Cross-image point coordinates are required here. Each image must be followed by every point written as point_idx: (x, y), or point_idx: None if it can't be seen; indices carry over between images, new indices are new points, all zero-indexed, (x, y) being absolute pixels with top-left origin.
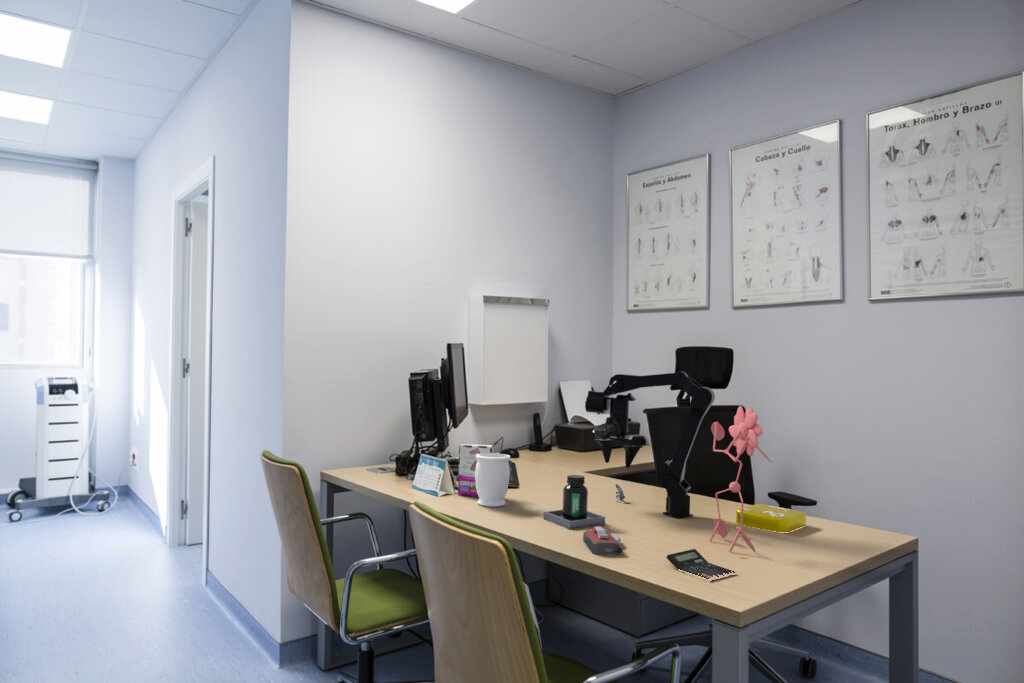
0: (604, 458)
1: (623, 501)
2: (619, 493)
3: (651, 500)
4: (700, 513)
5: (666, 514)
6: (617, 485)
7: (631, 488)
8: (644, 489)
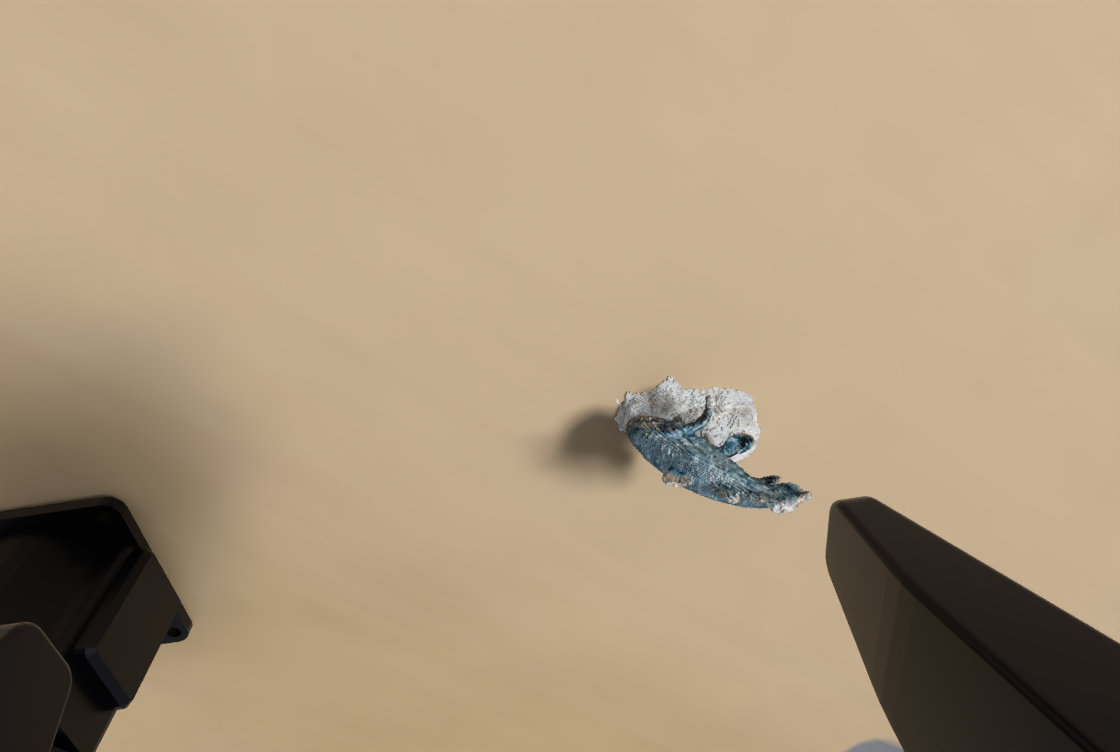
0: (957, 556)
1: (627, 420)
2: (692, 444)
3: (615, 645)
4: (145, 729)
5: (65, 505)
6: (773, 499)
7: None
8: None
